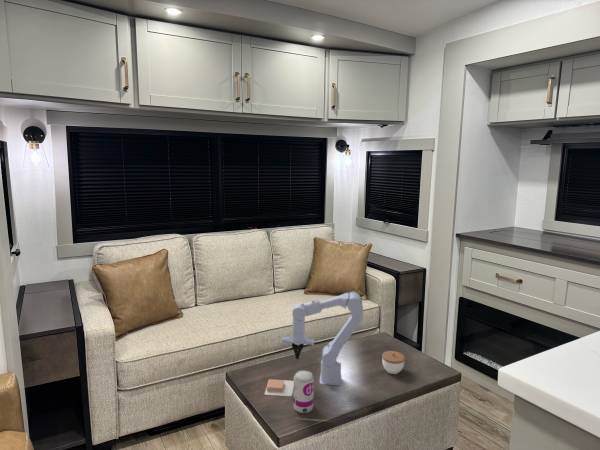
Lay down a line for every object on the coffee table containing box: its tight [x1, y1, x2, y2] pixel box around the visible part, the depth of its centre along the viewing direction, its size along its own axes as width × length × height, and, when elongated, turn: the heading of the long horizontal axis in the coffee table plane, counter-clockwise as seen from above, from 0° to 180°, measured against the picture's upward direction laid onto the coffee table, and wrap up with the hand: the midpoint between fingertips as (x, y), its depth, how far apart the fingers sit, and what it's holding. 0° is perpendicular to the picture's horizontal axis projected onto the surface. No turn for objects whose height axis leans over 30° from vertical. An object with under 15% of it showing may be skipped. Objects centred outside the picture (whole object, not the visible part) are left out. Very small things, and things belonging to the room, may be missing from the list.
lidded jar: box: [381, 350, 406, 375], centre depth 198 cm, size 11×11×9 cm
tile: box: [266, 379, 284, 391], centre depth 182 cm, size 2×6×7 cm
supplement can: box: [292, 369, 315, 414], centre depth 167 cm, size 8×8×15 cm
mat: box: [264, 379, 294, 397], centre depth 182 cm, size 12×12×1 cm
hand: (297, 358), depth 189 cm, fingers closed
